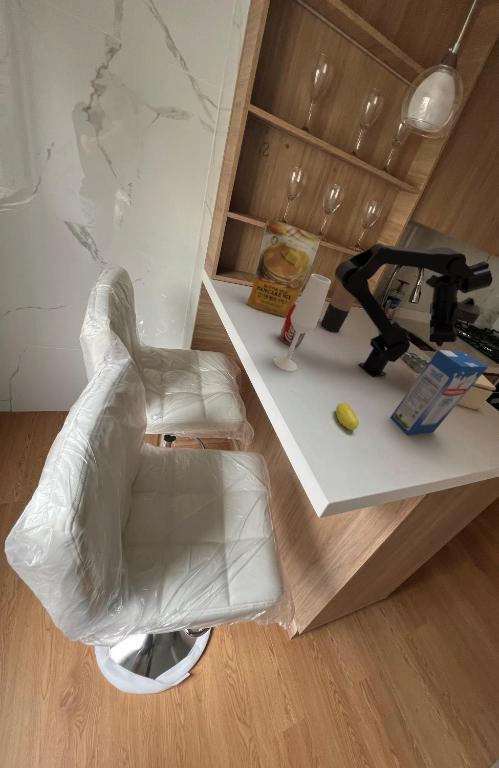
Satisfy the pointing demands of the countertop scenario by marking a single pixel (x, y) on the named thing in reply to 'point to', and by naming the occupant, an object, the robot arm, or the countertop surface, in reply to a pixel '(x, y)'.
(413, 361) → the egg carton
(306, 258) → the pancake mix bag
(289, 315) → the soda can
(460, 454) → the countertop surface
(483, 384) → the lid
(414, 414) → the milk carton
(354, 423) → the lemon
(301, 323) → the champagne flute
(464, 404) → the cardboard box
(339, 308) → the travel mug
